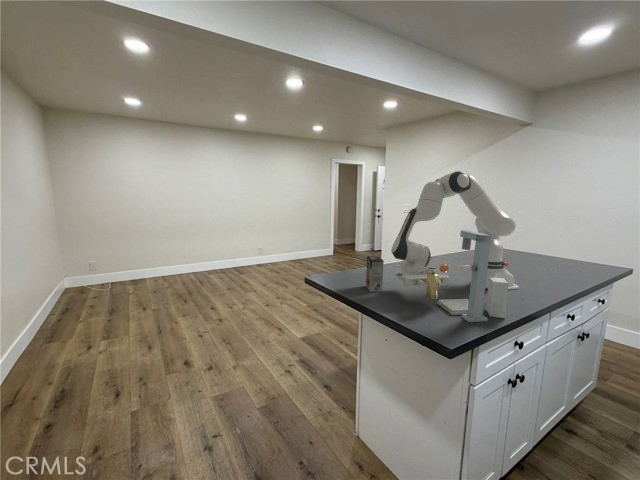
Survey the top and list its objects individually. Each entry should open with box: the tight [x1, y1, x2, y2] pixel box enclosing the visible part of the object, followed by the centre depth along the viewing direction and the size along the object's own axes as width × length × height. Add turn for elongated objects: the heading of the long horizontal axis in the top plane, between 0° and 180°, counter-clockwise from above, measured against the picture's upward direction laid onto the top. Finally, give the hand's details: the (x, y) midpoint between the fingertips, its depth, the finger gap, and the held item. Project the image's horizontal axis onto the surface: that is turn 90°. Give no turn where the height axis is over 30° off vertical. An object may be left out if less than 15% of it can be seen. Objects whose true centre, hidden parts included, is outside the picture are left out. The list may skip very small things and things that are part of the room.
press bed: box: [437, 298, 485, 316], centre depth 129 cm, size 14×12×2 cm
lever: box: [438, 263, 477, 274], centre depth 114 cm, size 14×3×3 cm, turn 97°
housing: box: [425, 270, 439, 300], centre depth 125 cm, size 5×5×12 cm
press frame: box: [459, 229, 491, 323], centre depth 121 cm, size 8×15×34 cm, turn 7°
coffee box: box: [365, 255, 384, 292], centre depth 151 cm, size 9×6×16 cm
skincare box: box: [485, 277, 509, 319], centre depth 123 cm, size 8×6×15 cm
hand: (433, 285), depth 124 cm, fingers closed on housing, 5 cm apart
